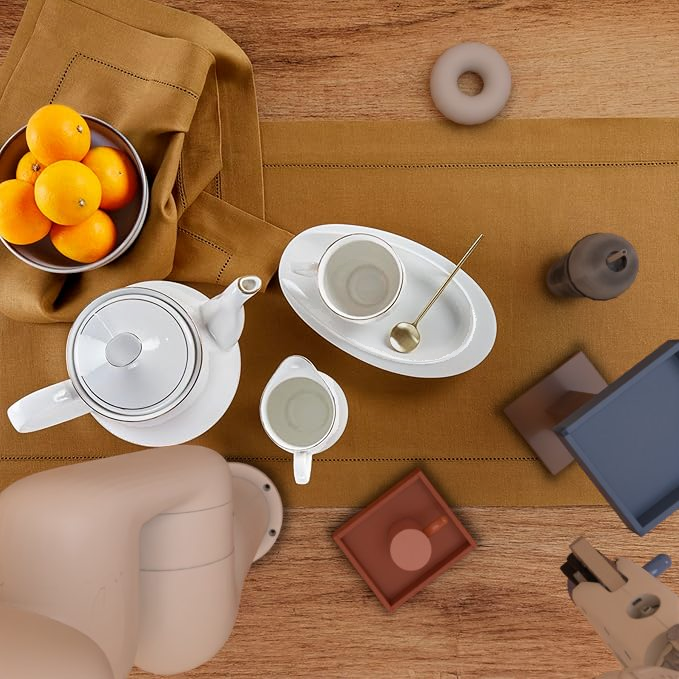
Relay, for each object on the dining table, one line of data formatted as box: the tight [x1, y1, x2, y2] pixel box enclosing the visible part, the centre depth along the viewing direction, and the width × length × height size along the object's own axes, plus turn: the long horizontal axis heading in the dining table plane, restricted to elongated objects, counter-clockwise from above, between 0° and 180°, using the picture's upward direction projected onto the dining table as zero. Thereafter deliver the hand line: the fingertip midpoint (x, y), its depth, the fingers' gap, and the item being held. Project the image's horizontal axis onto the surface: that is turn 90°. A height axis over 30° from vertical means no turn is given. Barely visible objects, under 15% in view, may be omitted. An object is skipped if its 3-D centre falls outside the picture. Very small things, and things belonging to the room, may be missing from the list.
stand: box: [501, 350, 610, 477], centre depth 69 cm, size 12×10×22 cm
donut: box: [429, 41, 513, 126], centre depth 79 cm, size 10×4×10 cm
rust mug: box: [387, 515, 448, 571], centre depth 77 cm, size 8×5×5 cm, turn 127°
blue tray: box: [552, 338, 679, 538], centre depth 57 cm, size 13×11×2 cm
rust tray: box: [332, 466, 479, 614], centre depth 78 cm, size 13×11×2 cm
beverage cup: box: [545, 232, 640, 302], centre depth 70 cm, size 7×7×20 cm
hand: (597, 586), depth 54 cm, fingers closed on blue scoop, 4 cm apart
